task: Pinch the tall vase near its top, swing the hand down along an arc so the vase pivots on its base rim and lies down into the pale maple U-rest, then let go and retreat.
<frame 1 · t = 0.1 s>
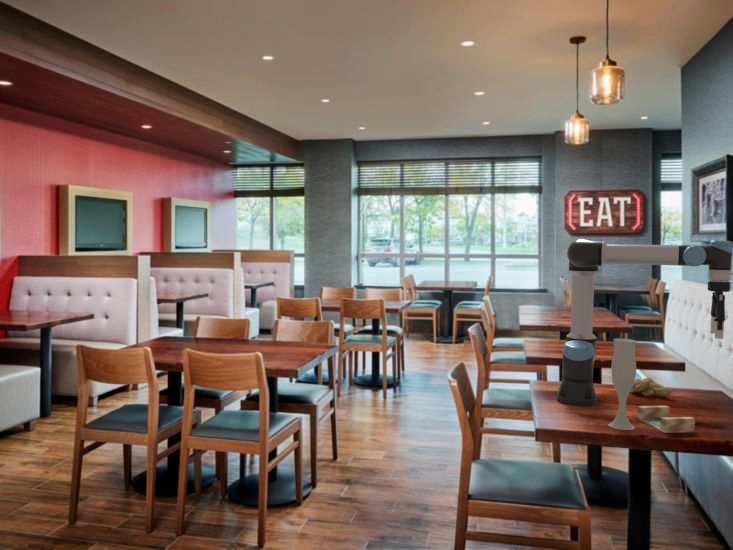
hand: (716, 336, 234), 28 cm above the table, fingers open, 13 cm apart
vase: (621, 426, 210), on the table
u rest: (664, 425, 212), on the table
ginger root: (646, 394, 255), on the table
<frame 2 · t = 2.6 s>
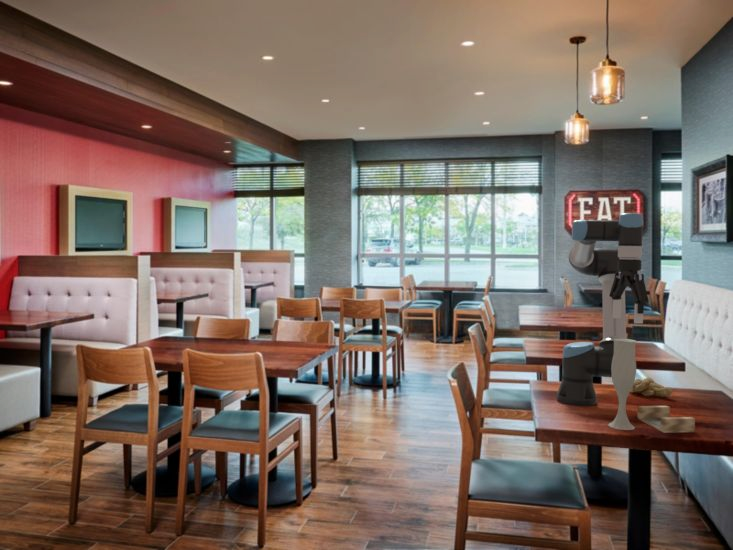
hand: (627, 320, 208), 37 cm above the table, fingers open, 13 cm apart
nothing on the table moved.
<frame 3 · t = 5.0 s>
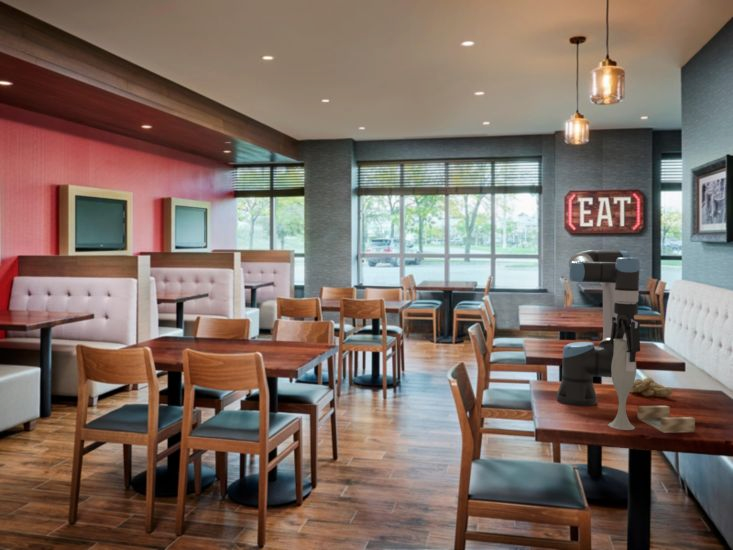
hand: (623, 368, 209), 20 cm above the table, fingers closed on vase, 8 cm apart
vase: (621, 426, 210), on the table, touching gripper
everything else where it was.
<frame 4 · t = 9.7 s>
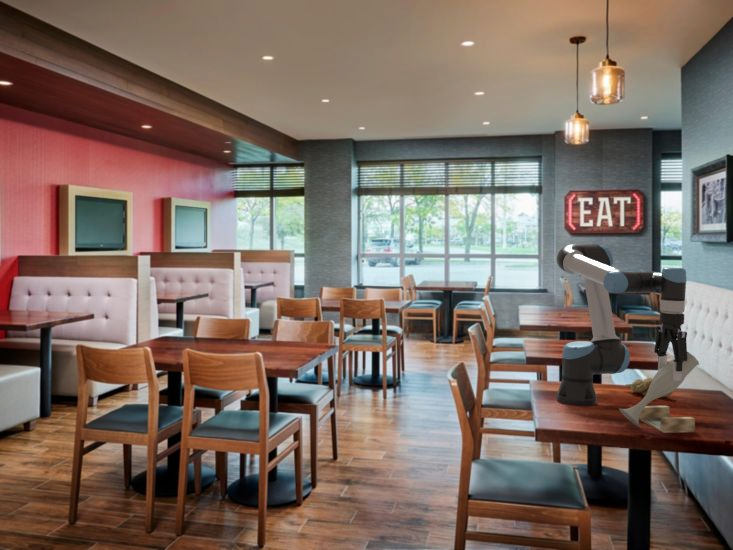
hand: (669, 377, 211), 17 cm above the table, fingers closed on vase, 8 cm apart
vase: (628, 418, 210), point 3 cm above the table, touching gripper
everything else where it was.
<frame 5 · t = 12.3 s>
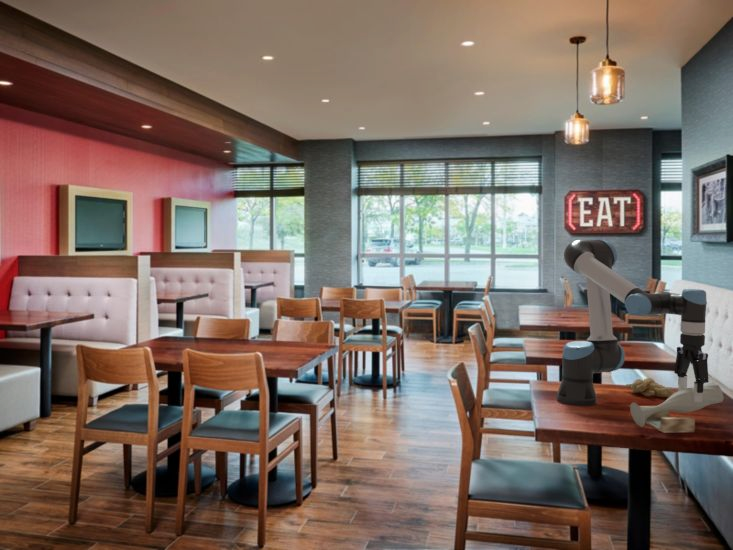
hand: (689, 398, 212), 9 cm above the table, fingers closed on vase, 8 cm apart
vase: (636, 414, 210), point 4 cm above the table, touching gripper
everything else where it was.
when the fingers open (5 cm above the table, at t = 14.5 s): vase stays where it is, point 4 cm above the table.
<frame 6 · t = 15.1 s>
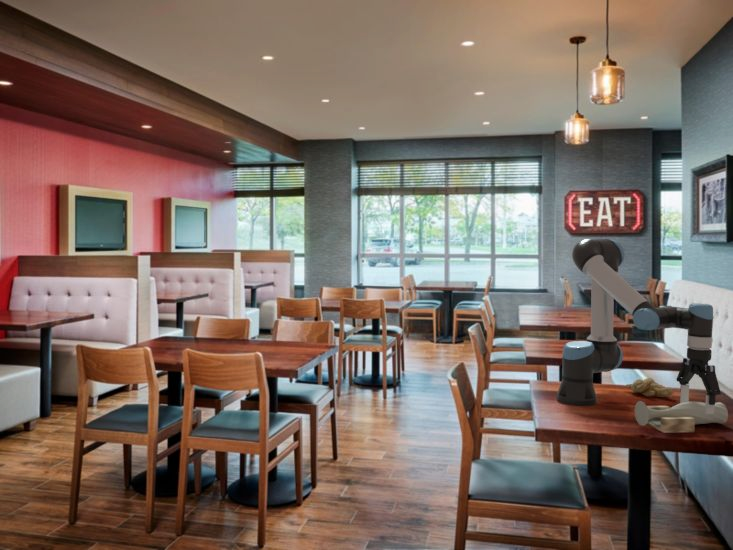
hand: (696, 408, 213), 6 cm above the table, fingers open, 13 cm apart
vase: (640, 413, 211), point 4 cm above the table
everything else where it was.
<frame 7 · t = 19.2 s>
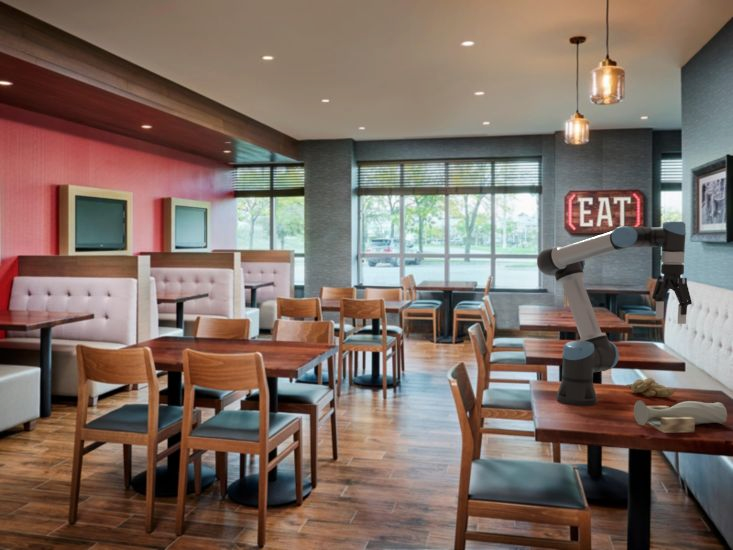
hand: (670, 321, 224), 35 cm above the table, fingers open, 13 cm apart
at the end: vase tilted 91°; vase 9.0 cm from the u rest (horizontally); the gripper is holding nothing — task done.
